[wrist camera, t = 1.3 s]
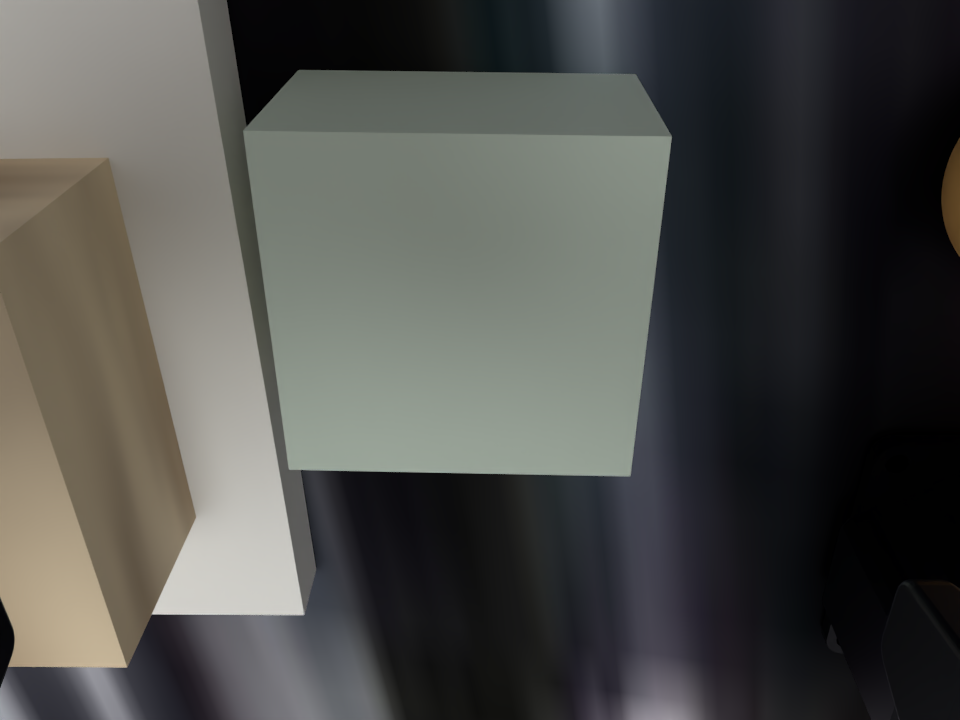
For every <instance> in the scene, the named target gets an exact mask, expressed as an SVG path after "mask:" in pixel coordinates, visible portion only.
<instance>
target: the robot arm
mask: <svg viewBox="0 0 960 720" xmlns="http://www.w3.org/2000/svg"><path fill="white" fill-rule="evenodd" d="M897 455H901V456H900V458H898V459H897V460H895V461H893V462H888V463H887V461H888V459H890V458H892V457H893V456H897ZM822 603H823V606H824V608H825V611H826V612H825V616H824V620H823V624H822V635H823V637H824V639H825V642H826V644H827V646H828V648H829V649H830V650H832V651H834V652H836V653H842V654H844V656H845V658H846V661H847V663H848V665H849V668H850V670H851V672H852V675H853V677H854V680H855V682H856V684H857V687H858V689H859V691H860V694H861V696H862V699H863V701H864V703H865V706H866V708H867V710H868V713H869V715H870V718H871V720H960V435H891V436H886V437H884V438H881V439H879V440H877V441H876V442H875V443H874V444H873V445H872V446H871V447H870V449H869V451H868V453H867V457H866V461H865V464H864V468H863V472H862V476H861V480H860V483H859V487H858V491H857V495H856V499H855V502H854V506H853V510H852V514H851V518H848V519H847V520H846V522H845V523H844V524H843V525H842V526H841V528H840V532H839V535H838V539H837V543H836V547H835V551H834V555H833V559H832V563H831V567H830V570H829V574H828V578H827V582H826V586H825V590H824V594H823V598H822ZM14 644H15V636H14V629H13V626H12V624H11V621H10V619H9V617H8V614H7V612H6V610H5V607H4V605H3V602H2V600H1V598H0V687H1V684H2V682H3V679H4V676H5V674H6V671H7V668H8V665H9V663H10V660H11V657H12V654H13V650H14Z"/></svg>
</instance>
